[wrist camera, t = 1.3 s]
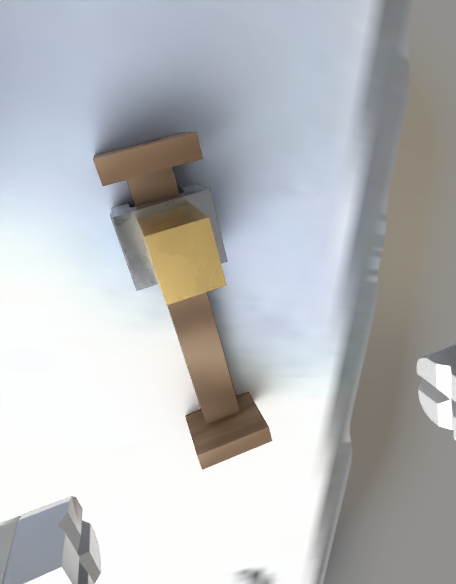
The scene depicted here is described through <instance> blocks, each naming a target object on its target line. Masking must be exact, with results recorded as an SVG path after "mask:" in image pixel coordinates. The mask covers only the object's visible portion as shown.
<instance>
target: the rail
mask: <svg viewBox="0 0 456 584" xmlns="http://www.w3.org/2000/svg"><path fill="white" fill-rule="evenodd" d="M200 159H203V157H202V152H201V148H200V144H199V140H198V136H197V132H188V133H178V134H175V135H171V136H167V137H163V138H159V139H155V140H152V141H148V142H144V143H140V144H136V145H132V146H129V147H125V148H121V149H117V150H113V151H109V152H106V153H102V154H98V155H94V158H93V160H94V163H95V166H96V169H97V172H98V174H99V177H100V180H101V183H102V186H106V185H109V184H113V183H117V182H120V181H124V180H127V183H128V186H129V189H130V192H131V195H132V198H133V201H134V204H135V206H139V205H142V204H146V203H149V202H152V201H156V200H159V199H163V198H166V197H170V196H173V195H177V194H179V190H178V187H177V183H176V179H175V176H174V172H173V169H172V167H175V166H178V165H182V164H186V163H189V162H193V161H197V160H200ZM167 306H168V309H169V312H170V315H171V318H172V321H173V324H174V327H175V330H176V333H177V336H178V340H179V343H180V346H181V349H182V352H183V355H184V358H185V361H186V364H187V367H188V370H189V373H190V376H191V379H192V383H193V386H194V389H195V392H196V395H197V398H198V401H199V404H200V407H201V410H200V411H197V412H195V413H192V414H190V415H187V416H185V417H186V420H187V423H188V427H189V430H190V433H191V436H192V440H193V443H194V446H195V450H196V453H197V456H198V459H199V462H200V465H201V467H202V469H205V468H207V467H210V466H212V465H215V464H217V463H219V462H222V461H224V460H227V459H229V458H232V457H234V456H236V455H239V454H241V453H244V452H246V451H249V450H251V449H253V448H256V447H258V446H261V445H263V444H266V443H268V442H270V441H272V438H271V434H270V430H269V427H268V425H267V423H266V421H265V420H264V418H263V416H262V415H261V413H260V411H259V409H258V408H257V406H256V404H255V402H254V401H253V399H252V397H251V396H250V394H249V392H247V393H244V394H242V395H239V396H235V392H234V389H233V385H232V382H231V378H230V374H229V371H228V367H227V363H226V360H225V356H224V353H223V349H222V345H221V342H220V338H219V335H218V331H217V327H216V324H215V320H214V317H213V313H212V309H211V306H210V302H209V299H208V295H207V292H205V293H202V294H199V295H196V296H193V297H190V298H187V299H184V300H181V301H178V302H175V303H172V304H169V305H167Z"/></svg>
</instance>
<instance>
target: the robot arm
mask: <svg viewBox="0 0 456 584" xmlns="http://www.w3.org/2000/svg"><path fill="white" fill-rule="evenodd" d="M417 374H418V375H419V376H420V377H421V378H423V381H422V382H421V385H420V386H419V388H418V392H419V400H420V403H421V405H422V407H423V409H424V411H425V413H426V414H427V415H428V416H429V418H430V419H431V420H432V421H433V422H435V423H436V424H437V425H438V426H440V427H444V428H447V429H451V430H452V432H453V436H454V439H455V440H456V343H455V344H454V345H452V346H449V347H447V348H444V349H442V350H439V351H437V352H434V353H432V354H429V355H427V356H424V357H422V358H419V360H418V363H417ZM100 573H101V558H100V552H99V546H98V541H97V538H96V535H95V532H94V530H93V528H92V526H91V524H89V523H87V522H84V521H82V507H81V505H80V504H79V502H78V500H77V498H76V497H72V496H71V497H68V498H66V499H63V500H60V501H57V502H55V503H52V504H49V505H47V506H44V507H41V508H39V509H36V510H33V511H31V512H28V513H25V514H23V515H22V516H18V517H16V518H13V519H10V520H8V521H5V522H2V523H0V584H95V582H96V580H97V578H98V577H99V575H100Z"/></svg>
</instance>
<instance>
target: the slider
mask: <svg viewBox="0 0 456 584" xmlns="http://www.w3.org/2000/svg"><path fill="white" fill-rule="evenodd" d="M181 192H182V193H180V194H177V195H173V196H170V197H166V198H163V199H159V200H156V201H152V202H149V203H146V204H142V205H139V206H135V207H132V208H130V207H129V204H128V203H127V204H123V205H120V206H116V207H113V208H111V211H112V213H111V214H110V216H111V220H112V223H113V225H114V228H115V231H116V234H117V237H118V240H119V242H120V245H121V248H122V251H123V254H124V257H125V259H126V262H127V265H128V268H129V271H130V273H131V276H132V279H133V282H134V285H135V288H136V290H137V291H138V290H141V289H144V288H147V287H150V286H153V285H156V284H159V287H160V289H161V292H162V294H163V297H164V300H165V302H166V305H169V304H172V303H175V302H178V301H181V300H184V299H187V298H190V297H193V296H196V295H199V294H202V293H205V292H208V291H211V290H214V289H217V288H220V287H223V286H226V282H225V278H224V274H223V270H222V266H221V263H224V262H227V257H226V253H225V248H224V244H223V240H222V236H221V232H220V228H219V224H218V220H217V216H216V212H215V208H214V204H213V200H212V195H211V191H210V189H209V188H207V187H202V186H200V185H198V184H194V185H190V186H187V187H183V188H181Z"/></svg>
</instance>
